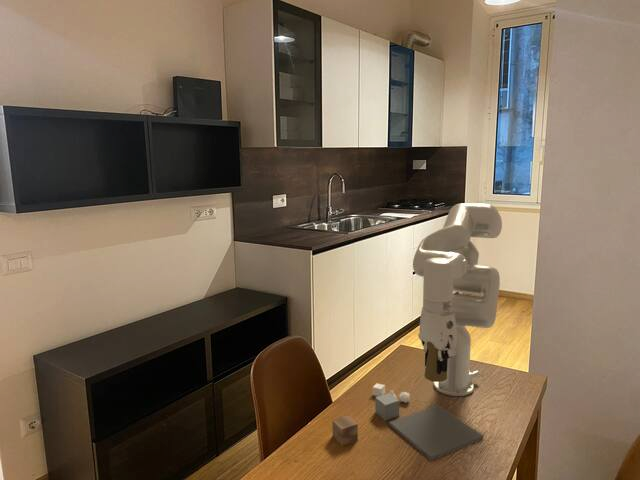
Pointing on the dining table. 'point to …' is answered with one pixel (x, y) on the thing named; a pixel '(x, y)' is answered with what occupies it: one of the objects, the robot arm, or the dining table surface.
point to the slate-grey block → (387, 406)
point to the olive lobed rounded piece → (433, 365)
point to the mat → (435, 432)
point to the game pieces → (380, 390)
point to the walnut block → (345, 430)
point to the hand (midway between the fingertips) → (435, 368)
